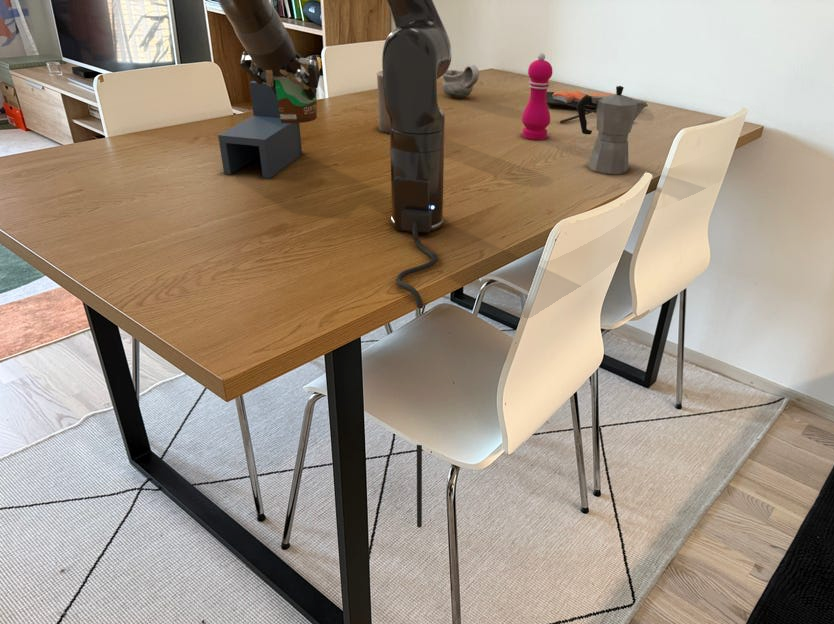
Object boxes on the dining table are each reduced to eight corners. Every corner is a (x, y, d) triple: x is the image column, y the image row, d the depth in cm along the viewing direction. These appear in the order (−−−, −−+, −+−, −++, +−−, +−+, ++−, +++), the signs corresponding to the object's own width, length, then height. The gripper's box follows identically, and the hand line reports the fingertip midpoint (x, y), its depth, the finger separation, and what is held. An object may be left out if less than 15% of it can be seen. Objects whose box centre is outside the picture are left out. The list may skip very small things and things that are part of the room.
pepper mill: (521, 132, 184) (527, 49, 173) (548, 134, 183) (557, 51, 172) (519, 139, 178) (526, 54, 167) (548, 141, 177) (556, 56, 166)
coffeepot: (633, 163, 165) (647, 83, 155) (639, 176, 157) (654, 92, 147) (568, 159, 165) (577, 79, 155) (571, 172, 157) (581, 88, 147)
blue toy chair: (269, 178, 145) (260, 103, 136) (223, 173, 146) (212, 98, 138) (302, 153, 160) (296, 84, 151) (260, 149, 161) (252, 80, 152)
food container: (309, 127, 130) (304, 70, 124) (277, 124, 130) (271, 67, 125) (331, 112, 140) (328, 58, 135) (302, 110, 141) (297, 56, 136)
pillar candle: (419, 134, 177) (418, 71, 169) (380, 134, 175) (378, 71, 167) (413, 124, 185) (413, 63, 177) (376, 124, 183) (374, 63, 175)
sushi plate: (633, 104, 216) (635, 91, 214) (638, 129, 191) (641, 115, 189) (539, 97, 219) (541, 84, 217) (532, 121, 194) (533, 106, 192)
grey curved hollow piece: (453, 91, 220) (454, 57, 214) (487, 98, 214) (489, 63, 209) (435, 97, 213) (436, 61, 207) (470, 103, 207) (471, 67, 202)
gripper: (308, 16, 115) (338, 80, 131) (226, 11, 117) (265, 74, 133) (299, 56, 113) (330, 115, 130) (216, 50, 115) (257, 110, 131)
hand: (297, 94), depth 131 cm, fingers closed on food container, 5 cm apart
